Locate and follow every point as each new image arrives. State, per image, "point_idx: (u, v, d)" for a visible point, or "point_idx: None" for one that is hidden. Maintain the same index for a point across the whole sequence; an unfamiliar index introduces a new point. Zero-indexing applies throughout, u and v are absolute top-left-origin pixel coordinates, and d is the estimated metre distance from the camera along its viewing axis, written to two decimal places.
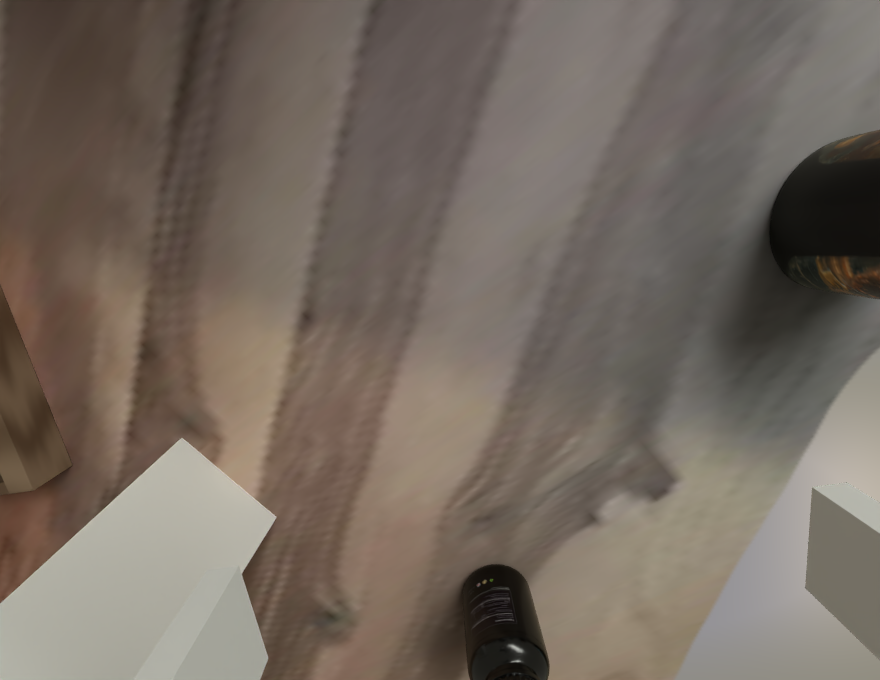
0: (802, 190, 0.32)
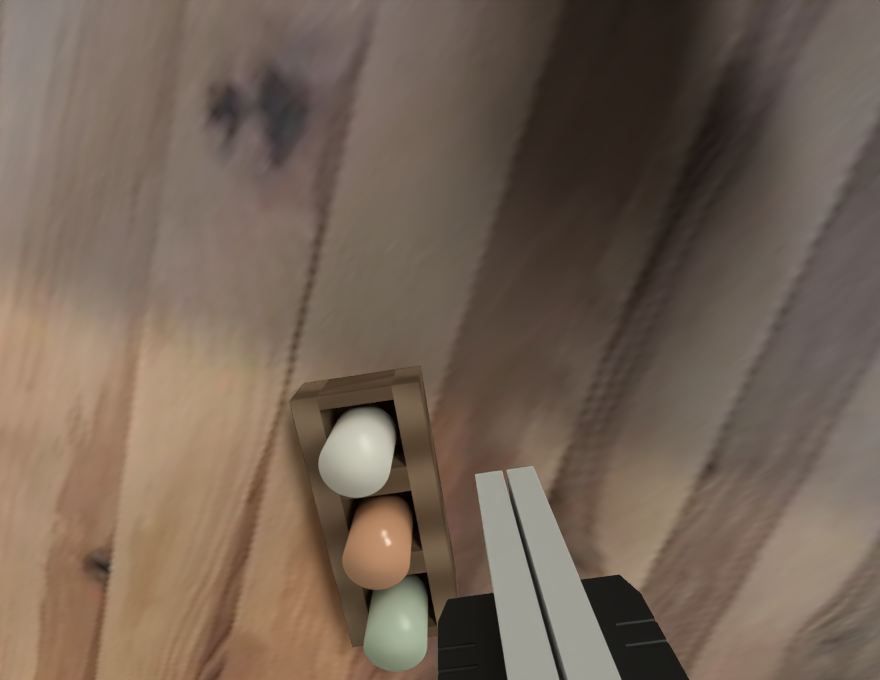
0: None
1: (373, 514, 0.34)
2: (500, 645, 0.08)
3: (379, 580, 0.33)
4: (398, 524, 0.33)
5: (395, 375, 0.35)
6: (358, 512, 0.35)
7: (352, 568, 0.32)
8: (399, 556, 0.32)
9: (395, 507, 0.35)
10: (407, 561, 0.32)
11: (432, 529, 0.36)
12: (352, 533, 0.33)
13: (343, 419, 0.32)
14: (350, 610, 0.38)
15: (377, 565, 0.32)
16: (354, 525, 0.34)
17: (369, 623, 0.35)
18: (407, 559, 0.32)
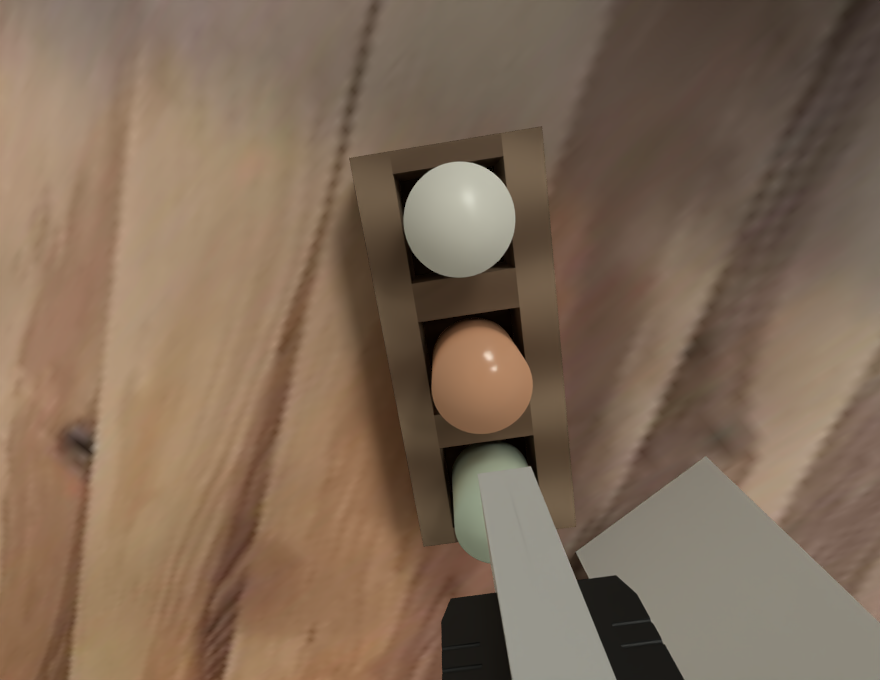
0: None
1: (471, 329, 0.23)
2: (504, 644, 0.08)
3: (485, 418, 0.22)
4: (510, 341, 0.23)
5: None
6: (444, 337, 0.24)
7: (446, 398, 0.22)
8: (517, 378, 0.21)
9: (499, 329, 0.24)
10: (529, 387, 0.21)
11: (546, 368, 0.25)
12: (444, 349, 0.22)
13: None
14: (423, 492, 0.27)
15: (484, 393, 0.21)
16: (443, 345, 0.23)
17: (461, 494, 0.24)
18: (529, 384, 0.21)
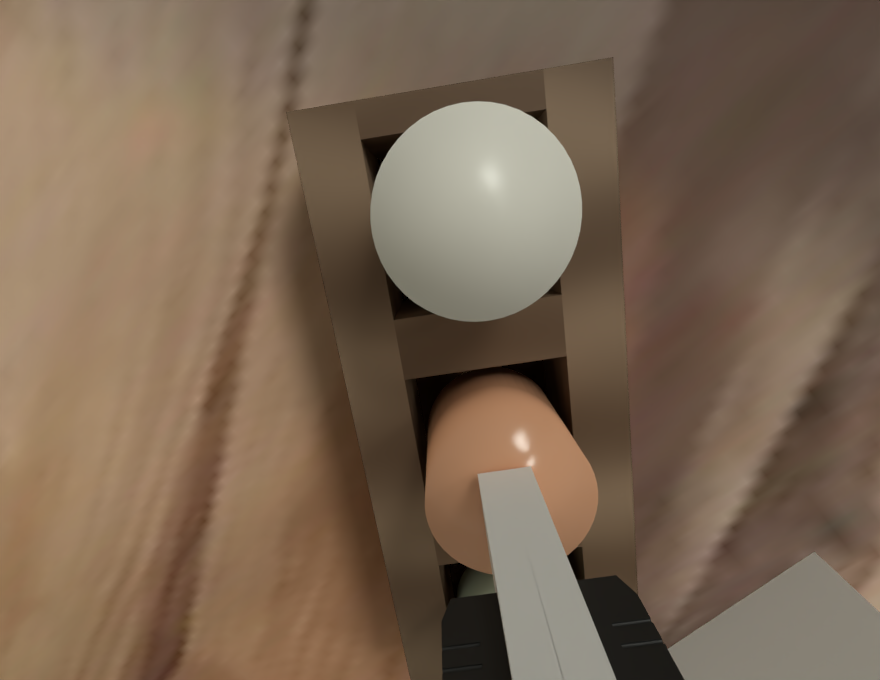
0: None
1: (490, 396, 0.14)
2: (504, 644, 0.08)
3: None
4: (555, 417, 0.14)
5: None
6: (446, 401, 0.15)
7: (449, 520, 0.13)
8: (572, 489, 0.12)
9: (533, 390, 0.15)
10: (592, 502, 0.13)
11: (605, 449, 0.16)
12: (446, 434, 0.13)
13: None
14: (414, 627, 0.18)
15: None
16: (445, 421, 0.14)
17: None
18: (592, 497, 0.12)
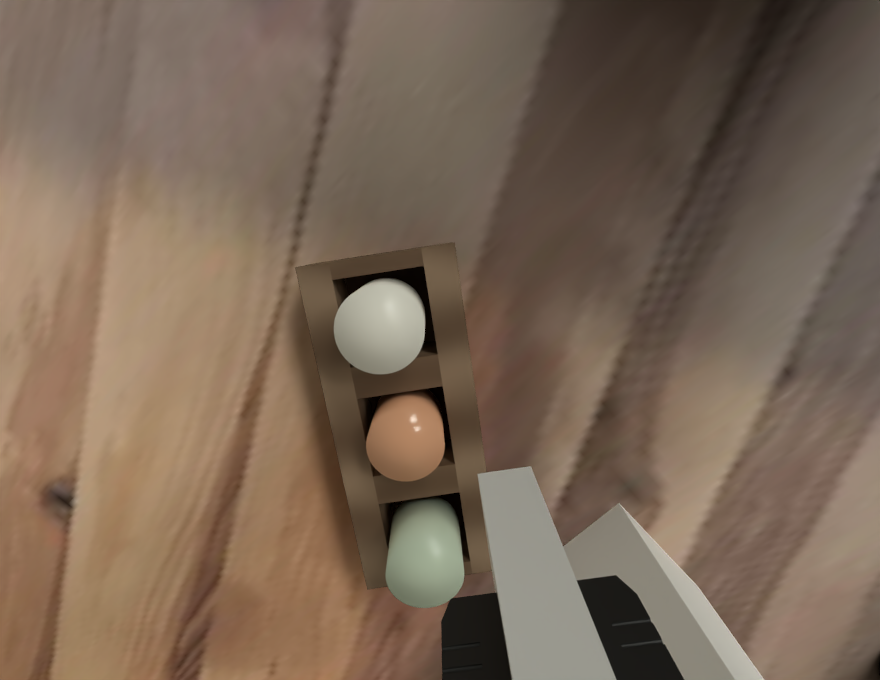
0: None
1: (400, 397, 0.29)
2: (504, 644, 0.08)
3: (408, 469, 0.28)
4: (429, 407, 0.29)
5: None
6: (381, 401, 0.31)
7: (377, 454, 0.28)
8: (432, 439, 0.28)
9: (424, 395, 0.30)
10: (442, 445, 0.28)
11: (467, 436, 0.30)
12: (377, 415, 0.28)
13: None
14: (365, 542, 0.31)
15: (407, 450, 0.28)
16: (378, 410, 0.29)
17: (392, 547, 0.28)
18: (441, 443, 0.28)
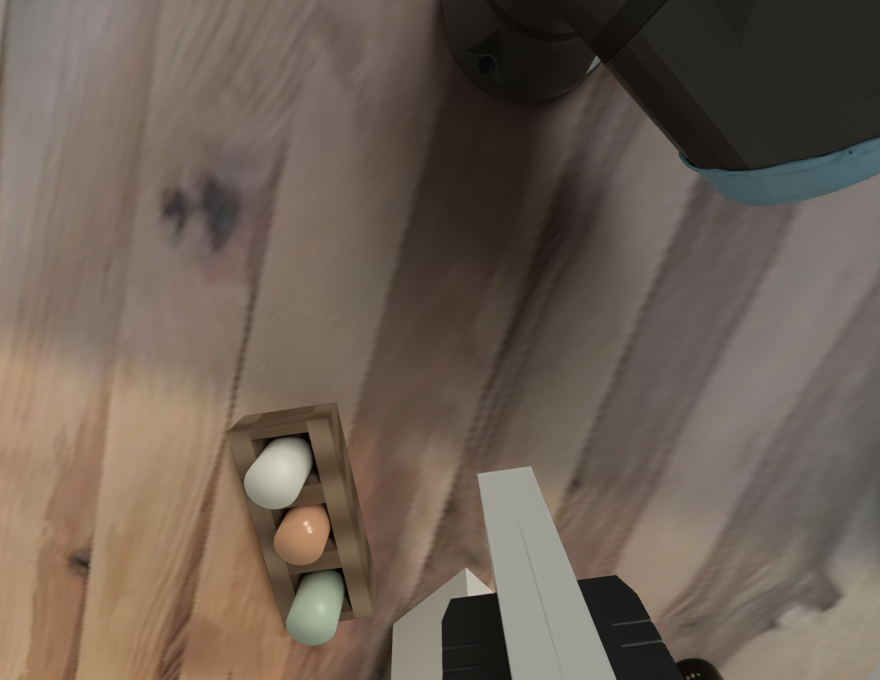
0: None
1: (299, 509, 0.45)
2: (504, 644, 0.08)
3: (302, 558, 0.44)
4: (317, 516, 0.44)
5: (313, 411, 0.45)
6: None
7: (281, 549, 0.43)
8: (316, 540, 0.43)
9: (318, 504, 0.46)
10: (322, 543, 0.43)
11: (344, 533, 0.45)
12: (282, 523, 0.44)
13: (267, 447, 0.42)
14: (282, 598, 0.47)
15: (300, 546, 0.43)
16: (285, 517, 0.45)
17: (291, 607, 0.44)
18: (322, 542, 0.43)
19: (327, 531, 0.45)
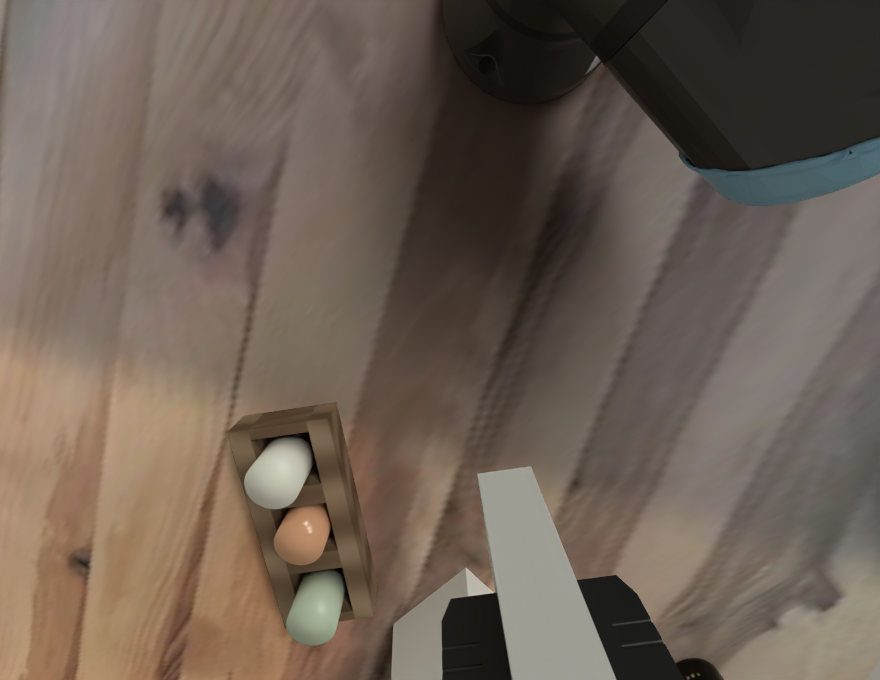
0: None
1: (299, 509, 0.45)
2: (504, 644, 0.08)
3: (302, 558, 0.44)
4: (317, 516, 0.44)
5: (313, 411, 0.45)
6: None
7: (281, 549, 0.43)
8: (316, 540, 0.43)
9: (318, 504, 0.46)
10: (322, 543, 0.43)
11: (344, 533, 0.45)
12: (282, 523, 0.44)
13: (267, 447, 0.42)
14: (282, 598, 0.47)
15: (300, 546, 0.43)
16: (285, 517, 0.45)
17: (291, 607, 0.44)
18: (322, 542, 0.43)
19: (327, 531, 0.45)
